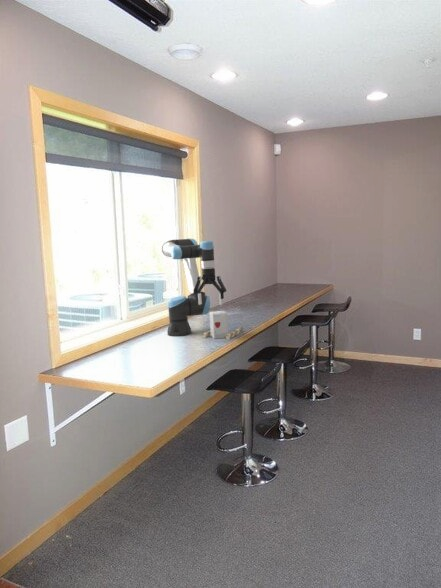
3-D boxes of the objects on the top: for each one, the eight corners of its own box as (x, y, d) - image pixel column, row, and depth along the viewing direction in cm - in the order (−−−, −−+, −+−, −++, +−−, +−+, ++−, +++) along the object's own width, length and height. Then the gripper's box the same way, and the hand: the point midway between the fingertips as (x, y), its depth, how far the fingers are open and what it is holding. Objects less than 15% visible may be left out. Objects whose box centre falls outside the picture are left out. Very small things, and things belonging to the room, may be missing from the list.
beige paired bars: (228, 339, 272) (228, 334, 272) (203, 337, 280) (202, 333, 279) (243, 331, 292) (243, 326, 292) (218, 330, 299) (218, 325, 299)
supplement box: (213, 339, 275) (212, 314, 273) (210, 336, 284) (208, 311, 282) (228, 337, 277) (227, 312, 275) (224, 334, 286) (223, 310, 284)
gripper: (230, 266, 266) (232, 303, 268) (192, 268, 276) (194, 303, 279) (225, 268, 259) (227, 305, 261) (186, 269, 269) (188, 305, 272)
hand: (210, 304), depth 270 cm, fingers open, 13 cm apart
